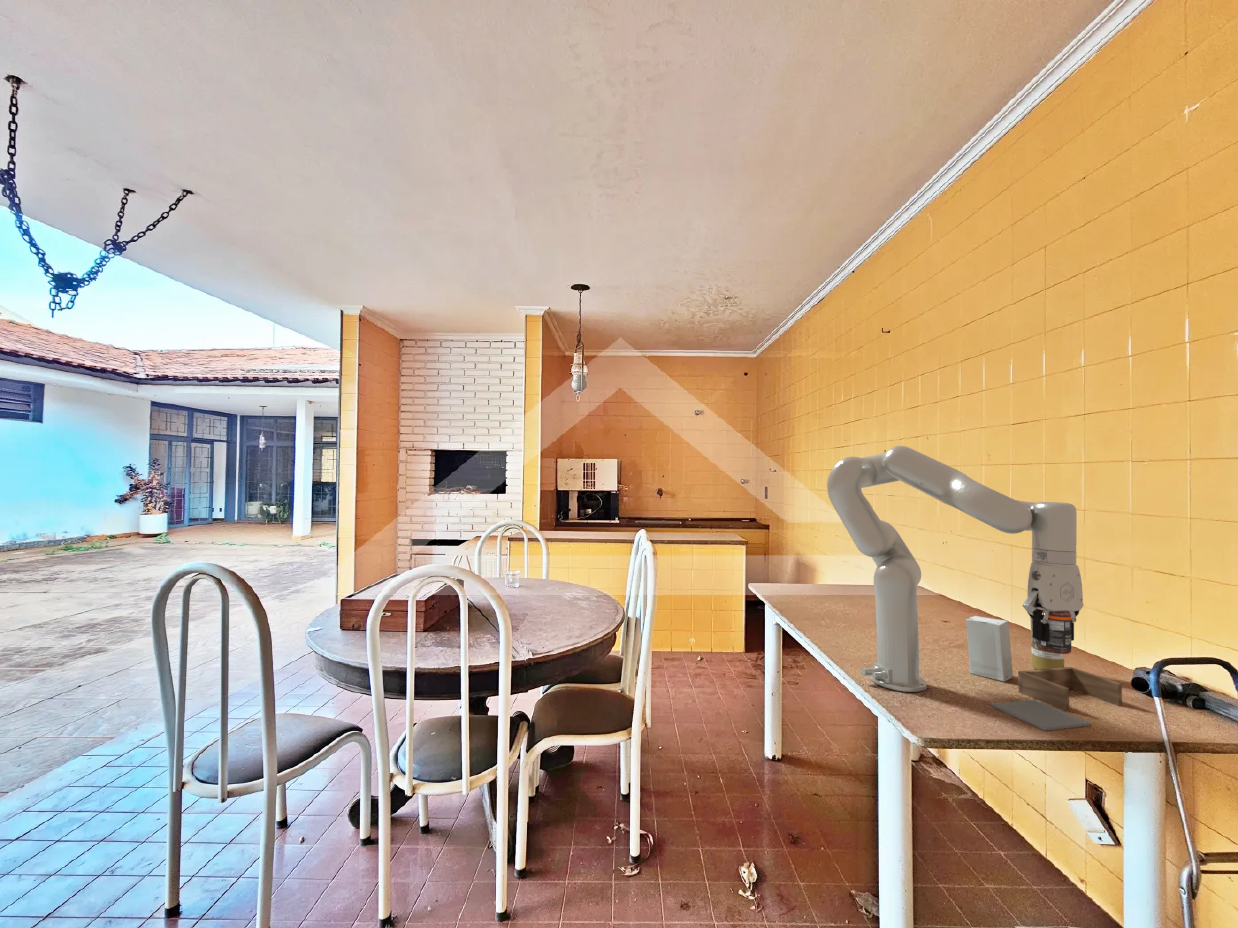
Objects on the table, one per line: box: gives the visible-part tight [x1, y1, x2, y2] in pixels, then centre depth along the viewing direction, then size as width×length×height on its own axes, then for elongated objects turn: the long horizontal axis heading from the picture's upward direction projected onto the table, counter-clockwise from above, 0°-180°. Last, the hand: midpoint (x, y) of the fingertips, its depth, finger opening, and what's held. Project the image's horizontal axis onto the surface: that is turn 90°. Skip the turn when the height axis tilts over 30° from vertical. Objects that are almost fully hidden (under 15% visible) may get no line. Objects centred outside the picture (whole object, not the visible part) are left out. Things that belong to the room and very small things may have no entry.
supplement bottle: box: [1036, 605, 1072, 655], centre depth 112 cm, size 6×6×11 cm
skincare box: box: [965, 615, 1014, 682], centre depth 135 cm, size 8×6×15 cm
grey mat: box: [990, 699, 1092, 732], centre depth 111 cm, size 12×12×1 cm
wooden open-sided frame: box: [1017, 666, 1123, 712], centre depth 120 cm, size 16×11×5 cm
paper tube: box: [1030, 619, 1065, 670], centre depth 139 cm, size 7×7×25 cm
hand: (1053, 638), depth 112 cm, fingers closed on supplement bottle, 6 cm apart
